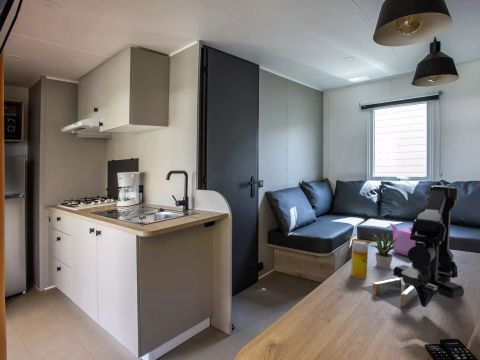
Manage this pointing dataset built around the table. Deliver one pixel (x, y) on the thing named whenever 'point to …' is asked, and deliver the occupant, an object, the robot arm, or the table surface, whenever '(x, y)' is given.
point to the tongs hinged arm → (408, 295)
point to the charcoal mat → (396, 297)
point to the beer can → (359, 259)
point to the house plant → (384, 251)
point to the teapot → (403, 239)
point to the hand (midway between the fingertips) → (424, 306)
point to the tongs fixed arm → (386, 286)
